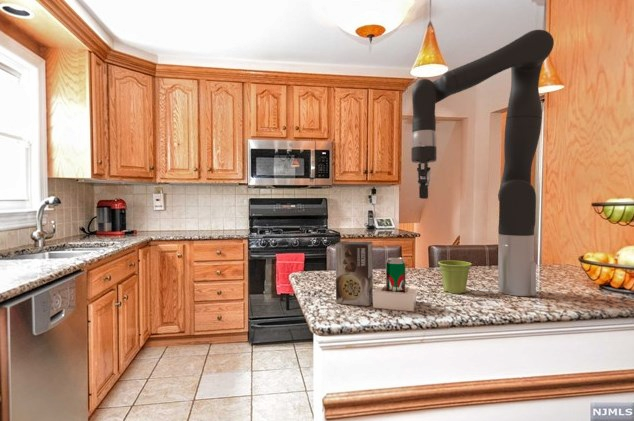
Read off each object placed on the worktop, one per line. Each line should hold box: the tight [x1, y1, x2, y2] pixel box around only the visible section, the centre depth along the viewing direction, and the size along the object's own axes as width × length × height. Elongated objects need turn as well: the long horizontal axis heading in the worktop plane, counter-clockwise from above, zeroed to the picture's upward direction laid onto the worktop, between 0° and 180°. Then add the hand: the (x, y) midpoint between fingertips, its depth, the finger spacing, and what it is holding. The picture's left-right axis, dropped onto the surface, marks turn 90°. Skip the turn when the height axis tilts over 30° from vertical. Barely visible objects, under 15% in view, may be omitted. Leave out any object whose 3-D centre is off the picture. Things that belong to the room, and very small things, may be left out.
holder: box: [372, 283, 418, 312], centre depth 95 cm, size 10×10×4 cm
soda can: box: [385, 257, 407, 293], centre depth 95 cm, size 5×5×12 cm
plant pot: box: [437, 260, 472, 295], centre depth 109 cm, size 9×9×9 cm
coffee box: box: [334, 240, 374, 307], centre depth 97 cm, size 9×6×16 cm
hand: (423, 198), depth 113 cm, fingers open, 8 cm apart
